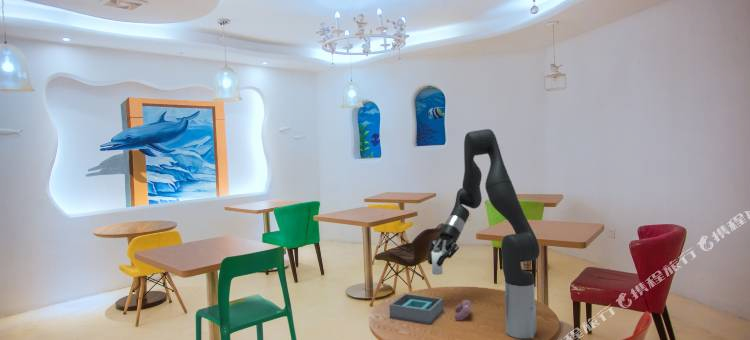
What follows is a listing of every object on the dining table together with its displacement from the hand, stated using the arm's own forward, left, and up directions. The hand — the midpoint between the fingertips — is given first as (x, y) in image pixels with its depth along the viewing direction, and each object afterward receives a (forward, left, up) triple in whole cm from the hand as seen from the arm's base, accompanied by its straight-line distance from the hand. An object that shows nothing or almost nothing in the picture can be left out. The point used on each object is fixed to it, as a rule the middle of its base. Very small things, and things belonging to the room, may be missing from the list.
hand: (433, 264), depth 174 cm
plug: (-1, -2, -4) cm, 5 cm away
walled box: (+3, +10, -17) cm, 20 cm away
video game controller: (-13, +5, -17) cm, 22 cm away
